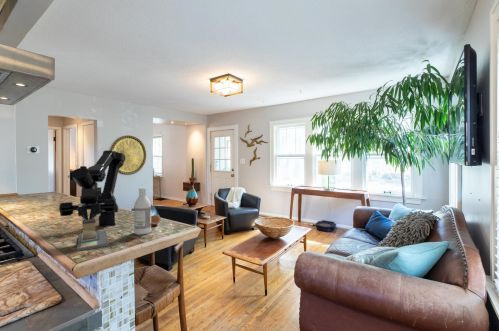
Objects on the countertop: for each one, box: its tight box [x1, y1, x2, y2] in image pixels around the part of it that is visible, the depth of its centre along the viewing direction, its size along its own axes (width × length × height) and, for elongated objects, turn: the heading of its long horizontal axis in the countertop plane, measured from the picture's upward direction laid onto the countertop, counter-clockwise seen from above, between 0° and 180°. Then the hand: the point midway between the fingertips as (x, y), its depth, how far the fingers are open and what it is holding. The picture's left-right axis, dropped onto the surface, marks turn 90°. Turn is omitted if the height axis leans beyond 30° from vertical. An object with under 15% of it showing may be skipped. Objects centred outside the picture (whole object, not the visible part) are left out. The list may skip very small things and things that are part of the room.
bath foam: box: [133, 187, 152, 236], centre depth 109 cm, size 7×7×20 cm
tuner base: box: [76, 230, 109, 252], centre depth 98 cm, size 20×10×4 cm, turn 32°
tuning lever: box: [82, 218, 96, 240], centre depth 95 cm, size 2×4×9 cm, turn 122°
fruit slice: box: [151, 214, 161, 227], centre depth 121 cm, size 8×7×5 cm
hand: (88, 225), depth 94 cm, fingers closed, pressing on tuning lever
